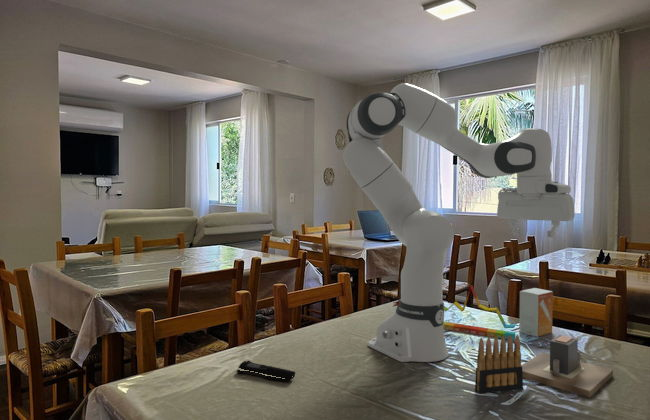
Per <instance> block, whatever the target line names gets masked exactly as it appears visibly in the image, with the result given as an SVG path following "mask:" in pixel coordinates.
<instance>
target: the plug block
mask: <svg viewBox="0 0 650 420" xmlns="http://www.w3.org/2000/svg"><path fill="white" fill-rule="evenodd" d="M578 342H579V339H578V338H575V337H569V336H565V335H561V334H560V335H557V336H556V337H553V339H551V340H549V354H550V370H551V371H553V359H558V360H559V373H562V374H566V375H569V374H570V373H571V372H573V371H574V370H575V369H577V361H578V351H579V350H578V347H579V343H578Z"/></svg>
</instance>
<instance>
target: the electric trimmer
mask: <svg viewBox="0 0 650 420" xmlns="http://www.w3.org/2000/svg"><path fill="white" fill-rule="evenodd" d="M238 368H241V369H244V370H249V371H240V370H238V369H236V374H238V375H242V374H247V375H251V376H256V377H257V376H258V377H261V378H265V380H268V381H269V380H272V381H279V382H280V381H281V382H282V381H283V382H290V381H291V380H293V379H294V378H295V376H296V371H294V370H289V369H284V368H280V367H276V366H271V365H266V364H261V363H260V364H259V363H255V362H252V361H251V360H244V361H243V362H241V363H240V365H239V366H238ZM250 371H254V372H250ZM255 372H258V373H255ZM259 373H263V374H267V375H272V376H276V377H281V378H276V377H271V376H265V375H262V374H259ZM292 376H293V377H292ZM282 378H285V379H282Z"/></svg>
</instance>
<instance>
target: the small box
mask: <svg viewBox="0 0 650 420" xmlns="http://www.w3.org/2000/svg"><path fill="white" fill-rule="evenodd" d="M553 298H554V291H552V290H548V289H542V288H537V287H532V288H528V289H523V290H520V291H519V323H518V325H519V329H518V330H519V331H518V332H519V333H522V334H525V335H529V336H532V337H536V338H539V337H542V336H544V335H548V334H552V333H553V310H554V309H553V307H554V306H553V302H554V300H553Z"/></svg>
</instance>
